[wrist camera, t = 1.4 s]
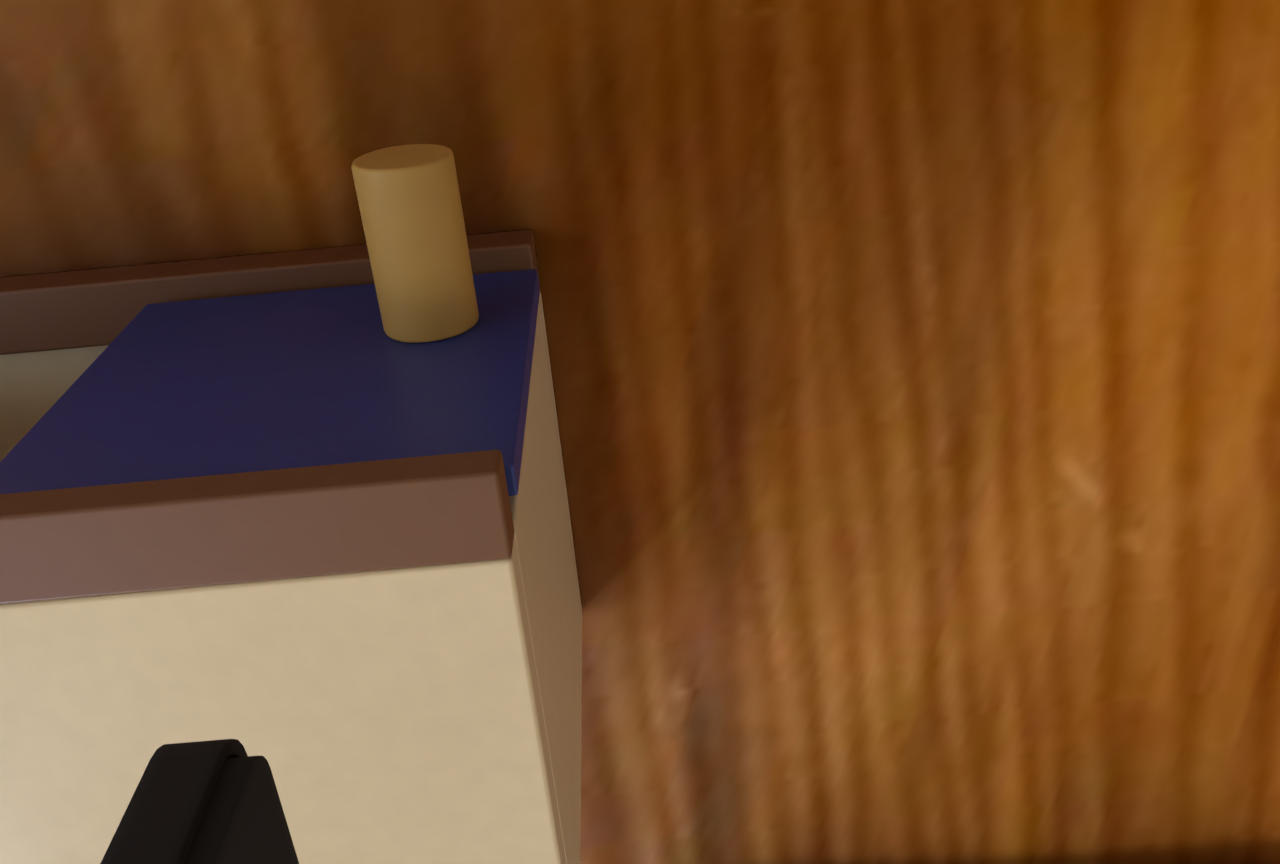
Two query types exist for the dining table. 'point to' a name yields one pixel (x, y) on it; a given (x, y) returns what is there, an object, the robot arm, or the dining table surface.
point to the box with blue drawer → (288, 611)
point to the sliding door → (311, 361)
